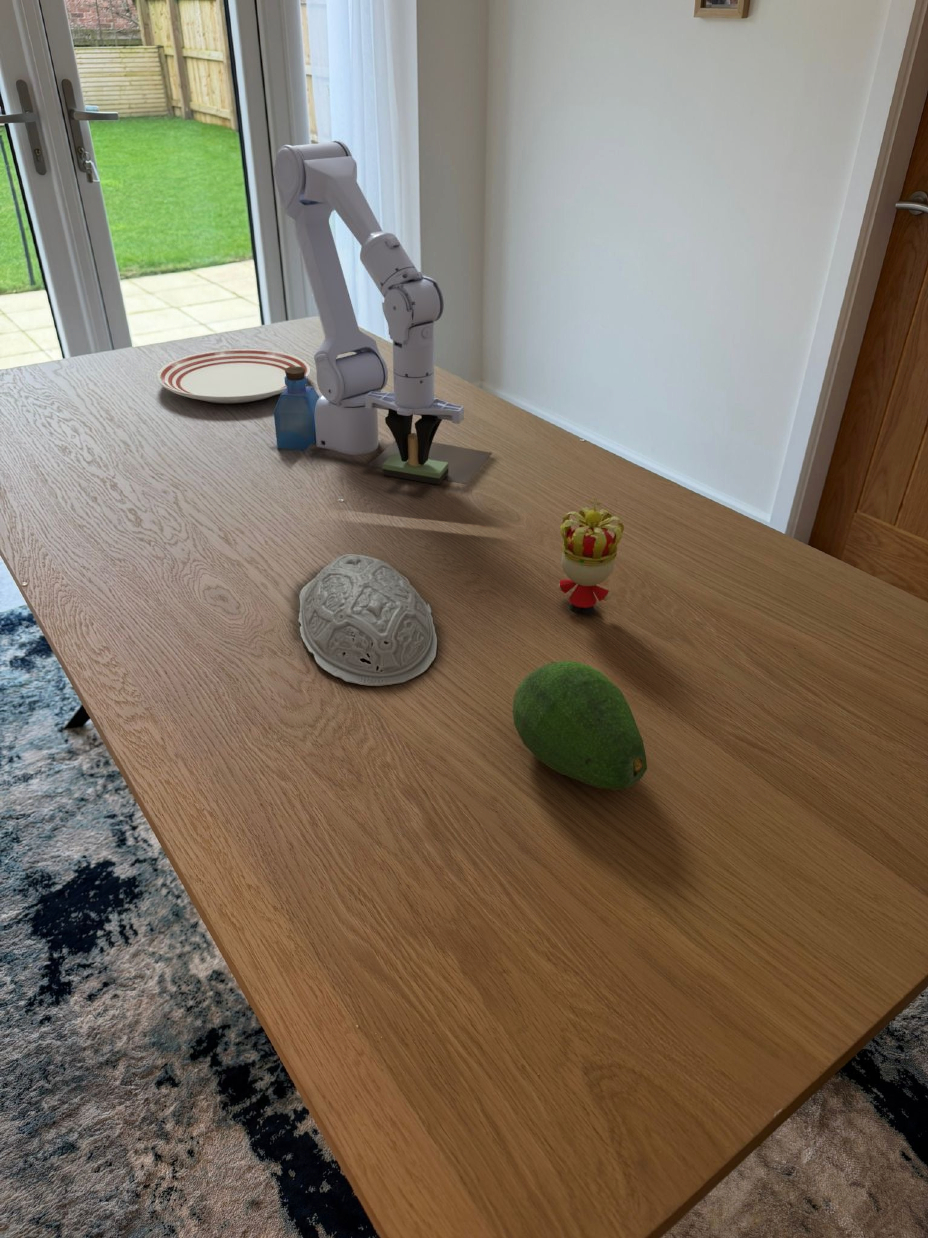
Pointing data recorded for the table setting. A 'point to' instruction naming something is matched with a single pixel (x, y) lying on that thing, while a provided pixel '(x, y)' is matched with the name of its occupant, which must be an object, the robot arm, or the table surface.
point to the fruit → (579, 725)
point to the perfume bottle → (296, 412)
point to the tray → (446, 460)
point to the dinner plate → (229, 375)
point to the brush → (415, 465)
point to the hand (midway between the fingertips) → (414, 460)
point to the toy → (588, 556)
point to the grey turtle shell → (366, 622)
